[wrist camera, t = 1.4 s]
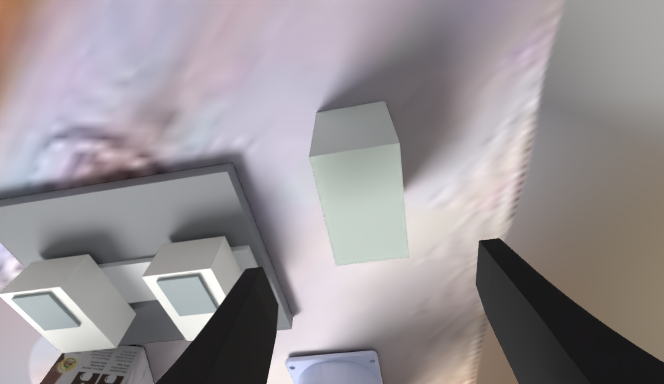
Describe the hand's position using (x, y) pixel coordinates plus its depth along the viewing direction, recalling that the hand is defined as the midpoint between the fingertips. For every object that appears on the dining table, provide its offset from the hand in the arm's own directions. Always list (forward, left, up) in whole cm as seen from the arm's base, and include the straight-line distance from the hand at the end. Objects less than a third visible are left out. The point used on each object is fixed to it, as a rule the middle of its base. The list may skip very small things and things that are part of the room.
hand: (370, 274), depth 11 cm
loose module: (0, 0, -9) cm, 9 cm away
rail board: (-6, +15, -9) cm, 18 cm away
